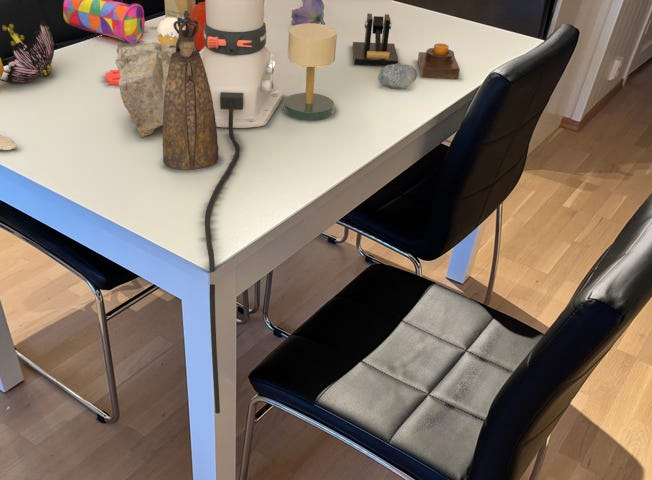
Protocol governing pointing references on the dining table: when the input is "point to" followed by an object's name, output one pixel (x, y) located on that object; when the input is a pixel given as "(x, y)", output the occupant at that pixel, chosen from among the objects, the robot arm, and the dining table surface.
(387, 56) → the switch lever
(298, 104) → the lamp
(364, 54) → the switch bracket
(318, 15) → the flower
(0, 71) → the potato
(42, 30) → the decorative flower
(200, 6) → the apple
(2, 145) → the arrowhead
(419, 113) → the dining table surface
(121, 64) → the stone
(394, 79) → the grey rock
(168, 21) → the ornament
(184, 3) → the cosmetic box
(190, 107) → the statue
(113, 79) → the building block
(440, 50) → the button
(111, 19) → the pencil case
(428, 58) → the button block
